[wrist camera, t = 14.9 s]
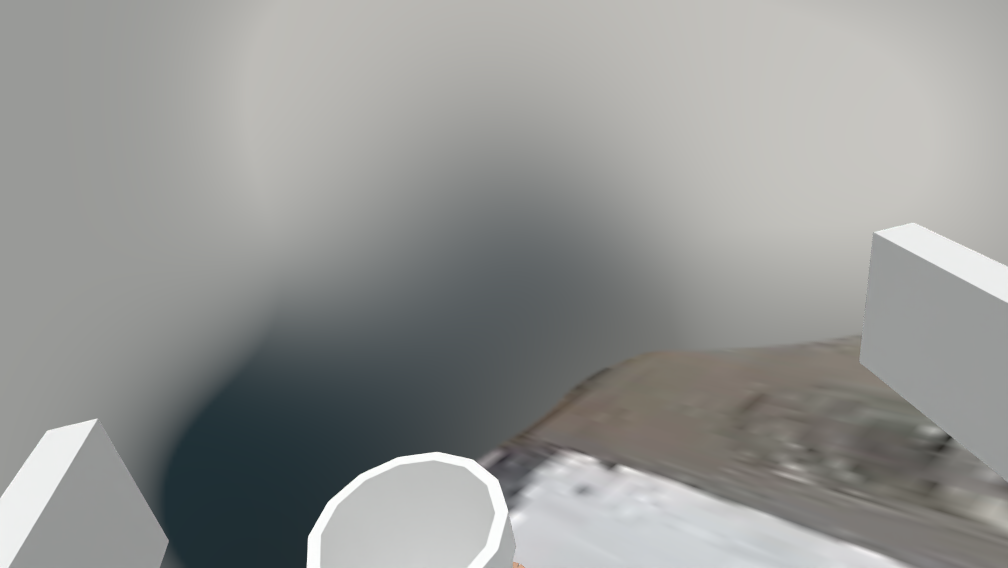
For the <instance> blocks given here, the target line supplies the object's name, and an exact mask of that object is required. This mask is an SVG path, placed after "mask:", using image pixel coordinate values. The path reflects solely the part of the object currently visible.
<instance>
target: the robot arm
mask: <svg viewBox="0 0 1008 568" xmlns="http://www.w3.org/2000/svg"><path fill="white" fill-rule="evenodd" d="M859 362H860V363H861V364H862V365H864V366H865V367H866V368H867V369H869V370H870V371H871V372H872V373H874V374H875V375H876V376H877V377H878V378H880V379H881V380H882V381H883V382H885V383H886V384H887V385H888V386H890V387H891V388H892V389H893V390H895V391H896V392H897V393H898V394H900V395H901V396H902V397H903V398H904V399H906V400H907V401H908V402H909V403H911V404H912V405H913V406H914V407H916V408H917V409H918V410H919V411H921V412H922V413H923V414H924V415H926V416H927V417H928V418H929V419H930V420H932V421H933V422H934V423H935V424H937V425H938V426H939V427H940V428H942V429H943V430H944V431H945V432H947V433H948V434H949V435H950V436H951V437H953V438H954V439H955V440H956V441H958V442H959V443H960V444H961V445H963V446H964V447H965V448H966V449H968V450H969V451H970V452H971V453H973V454H974V455H975V456H976V457H977V458H979V459H980V460H981V461H982V462H984V463H985V464H986V465H987V466H989V467H990V468H991V469H992V470H994V471H995V472H996V473H997V474H999V475H1000V476H1001V477H1002V478H1003V479H1005V480H1006V481H1007V482H1008V267H1007V266H1005V265H1003V264H1000V263H999V262H997V261H994V260H992V259H990V258H988V257H986V256H984V255H982V254H980V253H978V252H975V251H973V250H971V249H969V248H967V247H965V246H963V245H961V244H958V243H956V242H954V241H952V240H950V239H948V238H946V237H944V236H941V235H939V234H937V233H935V232H933V231H931V230H929V229H926V228H924V227H922V226H920V225H918V224H916V223H910V224H905V225H902V226H897V227H893V228H889V229H884V230H880V231H876V232H873V241H872V250H871V259H870V268H869V277H868V287H867V297H866V305H865V314H864V324H863V333H862V342H861V351H860V360H859ZM168 542H169V540H168V539H167V537H166V535H165V534H164V532H163V530H162V528H161V527H160V525H159V523H158V521H157V520H156V518H155V516H154V515H153V513H152V511H151V509H150V508H149V506H148V504H147V503H146V501H145V499H144V497H143V496H142V494H141V492H140V490H139V489H138V487H137V485H136V484H135V482H134V480H133V478H132V477H131V475H130V473H129V471H128V470H127V468H126V466H125V464H124V463H123V461H122V460H121V458H120V456H119V454H118V452H117V451H116V449H115V447H114V445H113V444H112V442H111V440H110V439H109V437H108V435H107V433H106V432H105V430H104V428H103V426H102V425H101V423H100V422H99V420H98V419H94V420H90V421H85V422H81V423H78V424H73V425H69V426H65V427H61V428H57V429H52V430H48V431H47V432H46V433H45V434H44V436H43V437H42V439H41V440H40V442H39V443H38V445H37V446H36V447H35V449H34V450H33V452H32V453H31V455H30V456H29V457H28V459H27V460H26V462H25V463H24V465H23V466H22V468H21V469H20V471H19V472H18V473H17V475H16V476H15V478H14V479H13V481H12V482H11V483H10V485H9V486H8V488H7V489H6V491H5V492H4V494H3V495H2V497H1V498H0V568H160V565H161V562H162V559H163V556H164V553H165V550H166V548H167V545H168Z"/></svg>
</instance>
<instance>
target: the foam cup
mask: <svg viewBox="0 0 1008 568" xmlns="http://www.w3.org/2000/svg"><path fill="white" fill-rule="evenodd" d="M515 549H516V544H515V539H514V535H513V531H512V526H511V522H510V517H509V513H508V509H507V506H506V503H505V500H504V497H503V494H502V491H501V487H500V484H499V481H498V479H496V478H495V477H494V476H493V475H491V474H490V473H489V472H488V471H486V470H485V469H484V468H483V467H481V466H480V465H479V464H478V463H476V462H475V461H474V460H473V459H468V458H463V457H458V456H454V455H449V454H445V453H440V452H433V453H426V454H419V455H412V456H403V457H398V458H395V459H393V460H391V461H389V462H387V463H384V464H382V465H380V466H378V467H376V468H373V469H371V470H369V471H367V472H364V473H362V474H360V475H359V476H358V477H356V478H355V479H354V480H353V481H352V482H351V483H350V484H348V485H347V486H346V487H345V488H344V489H343V490H341V491H340V492H339V493H338V494H337V495H336V496H334V497H333V498H332V499H331V500H330V501H329V502H328V503H327V505H326V507H325V508H324V510H323V512H322V514H321V515H320V517H319V519H318V521H317V522H316V524H315V526H314V528H313V529H312V531H311V533H310V535H309V536H308V555H307V568H513V557H514V553H515Z"/></svg>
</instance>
